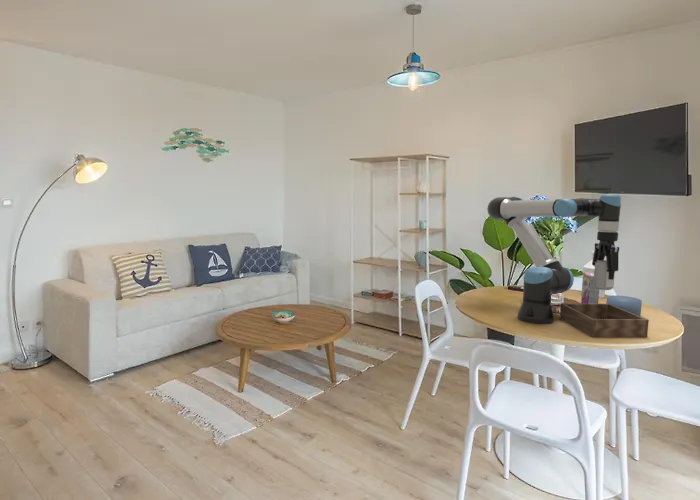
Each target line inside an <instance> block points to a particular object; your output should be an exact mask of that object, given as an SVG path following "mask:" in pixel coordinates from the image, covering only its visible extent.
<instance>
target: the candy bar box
mask: <svg viewBox="0 0 700 500" xmlns="http://www.w3.org/2000/svg"><path fill="white" fill-rule="evenodd" d="M582 280H583V282H582V284H581V301H580V304H599V299H600V298H599V289H596V288H595V287H594V286H593V281H594V273H583V272H582Z"/></svg>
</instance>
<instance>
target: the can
mask: <svg viewBox="0 0 700 500" xmlns="http://www.w3.org/2000/svg"><path fill="white" fill-rule="evenodd" d="M607 270H608V267H607V260H606V259H604V260H597V263H596V264H595V269H594V281H593V286H594V287H595V288H596V289H600V290H605V291H610V290H612V289H614V283H615V278H614V279H613V287H605V283H606V271H607ZM615 273H616V271H615V272H614V276H615Z"/></svg>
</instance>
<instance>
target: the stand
mask: <svg viewBox="0 0 700 500" xmlns="http://www.w3.org/2000/svg"><path fill="white" fill-rule="evenodd" d="M605 304H612V305H614V306H616V307H619V308H621V309H624V310H626V311H628V312H631V313H633V314H635V315H638V316H640V317H642V316H641V314H642V304H643V301H642V299H640V298H636V297H633V296H625V295H608V296H606V302H605Z"/></svg>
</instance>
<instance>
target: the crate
mask: <svg viewBox="0 0 700 500" xmlns="http://www.w3.org/2000/svg"><path fill="white" fill-rule="evenodd" d="M559 319H560V320H562V321H564V322H566V323H567V324H569V325H571V326H572V327H574V328H576V329H577V330H579V331H580V332H582V333H584V334H586V335H588V336H590V337H591V338H648V331H649V321H650V320H649V319H647V318H646V317H642V316H641V317H640V316H638V315H635V314H633V313H631V312H628V311H626V310H624V309H621V308H619V307H616V306H614V305H612V304H606V303H598V304H582V303H562V304H561V306H560V311H559Z"/></svg>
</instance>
